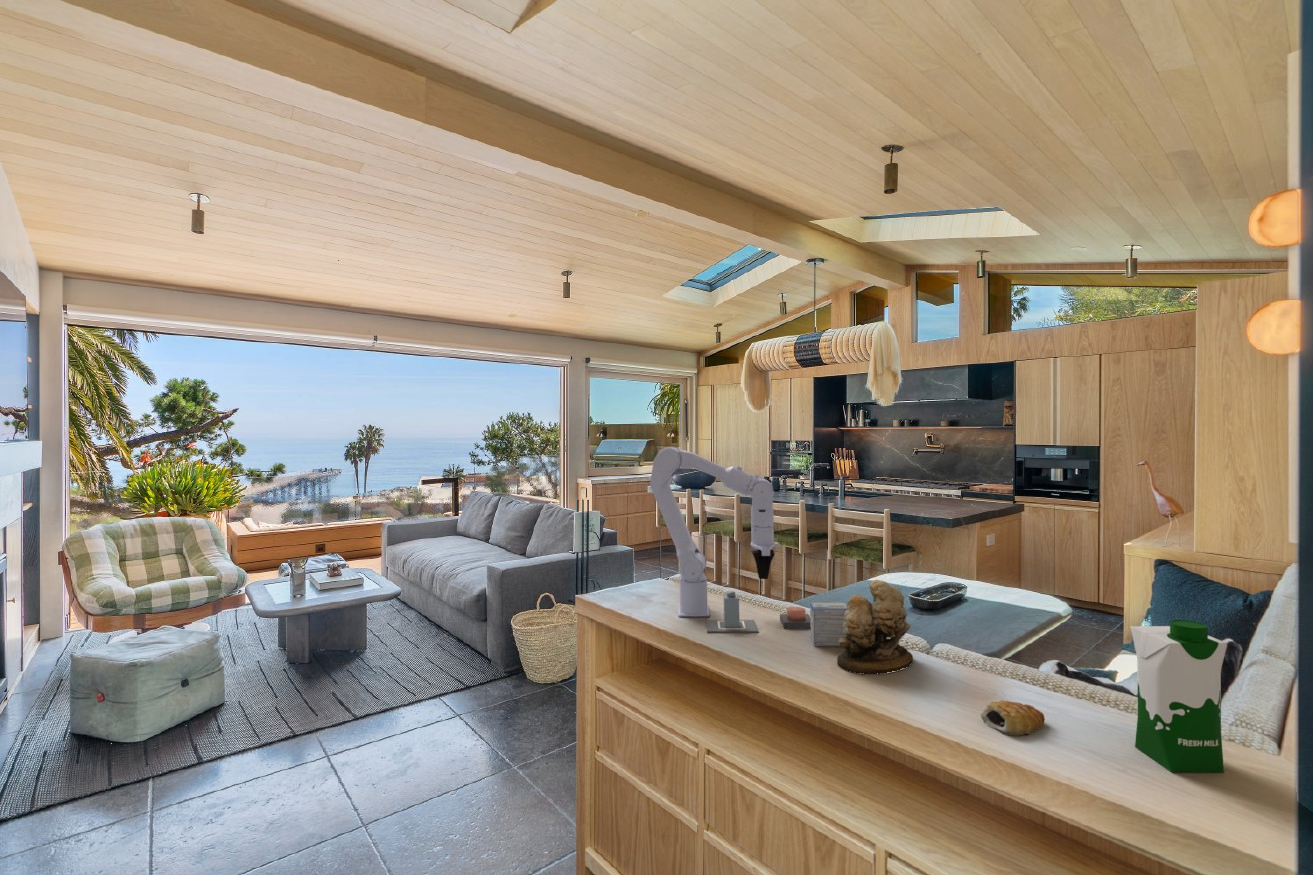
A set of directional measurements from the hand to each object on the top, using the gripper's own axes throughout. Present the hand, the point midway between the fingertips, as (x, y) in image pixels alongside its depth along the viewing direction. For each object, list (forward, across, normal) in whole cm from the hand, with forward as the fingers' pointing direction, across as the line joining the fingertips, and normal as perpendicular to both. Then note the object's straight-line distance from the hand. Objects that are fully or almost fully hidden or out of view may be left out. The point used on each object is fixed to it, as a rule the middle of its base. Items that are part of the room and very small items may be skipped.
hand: (763, 578), depth 163 cm
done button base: (+9, -8, -7) cm, 14 cm away
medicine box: (+10, -22, -12) cm, 27 cm away
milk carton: (+10, -71, -50) cm, 87 cm away
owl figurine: (+10, -33, -19) cm, 39 cm away
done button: (+8, -8, -7) cm, 13 cm away
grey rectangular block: (+9, -10, +9) cm, 16 cm away
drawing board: (+9, -10, +9) cm, 16 cm away
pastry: (+10, -61, -32) cm, 69 cm away
